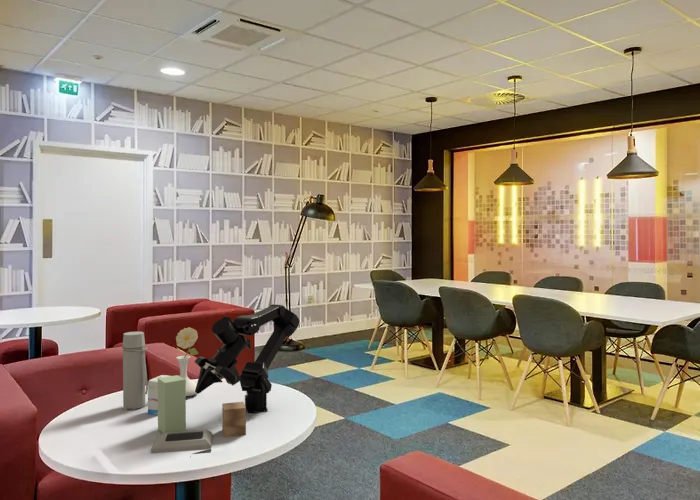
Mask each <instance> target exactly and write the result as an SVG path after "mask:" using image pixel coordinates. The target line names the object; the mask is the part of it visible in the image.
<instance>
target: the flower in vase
mask: <svg viewBox="0 0 700 500" xmlns="http://www.w3.org/2000/svg"><path fill="white" fill-rule="evenodd" d="M198 335H199V334H198V331H197V330H196V329H194V328H193V327H189V326H188V327H187V328H186V327H184V328H183V329H181V330H179V332H178V333H177V335H176V336H175V340H176V346H177V347H176V349H177V350H178V351H180V352H181V353H184V354H185V355H180V356H176V358H175V359H176V360H177V362H178V364H179V376H180V377H182V378H184V379H186V397H190V396H194V395H196V394H197V393H196V392H195V389H196V386H197V382H194V381H193V380H191V379H190V378H189V376H188V372H187V371H188V363H189V360H190V359H191V356H195V355H198V354H199V352H198V351H197V350H198V349H196V348H195V347H193V346H194V345H195V343H196V342H197V341H198V338H199V336H198ZM178 347H179V348H178ZM191 347H192V348H191ZM180 348H182V349H188V350H187V352H185V351H184V350H181V349H180ZM188 353H189V354H190V355H188Z"/></svg>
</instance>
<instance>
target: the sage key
mask: <svg viewBox="0 0 700 500" xmlns="http://www.w3.org/2000/svg"><path fill="white" fill-rule="evenodd" d="M169 376H170V377H163V378H158V415H157V430H158V431H160V432H161V434H163V433H170V432H185V431H187V422H186V421H187V419H186V418H187V416H186V415H187V412H186V411H187V407H186V406H187V400H186V398H187V396H186V379H184V378H182V377H180V375H179V374H178V375H169Z"/></svg>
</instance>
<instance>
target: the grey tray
mask: <svg viewBox="0 0 700 500" xmlns="http://www.w3.org/2000/svg"><path fill="white" fill-rule="evenodd" d="M212 440H213V432H212V431H211V430H208V429H203V430H201V429H200V430H186V431H181V432H170V433H161V434H157V436H156V437H155V440H154V442H153V444H152V448H151V453H153V454H154V453H165V452H177V451H178V452H179V451H190V450H191V451H194V450H201V451H197V452H193V453H192V455H198V454H209V453H210V454H211V452H212V442H213V441H212Z"/></svg>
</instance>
